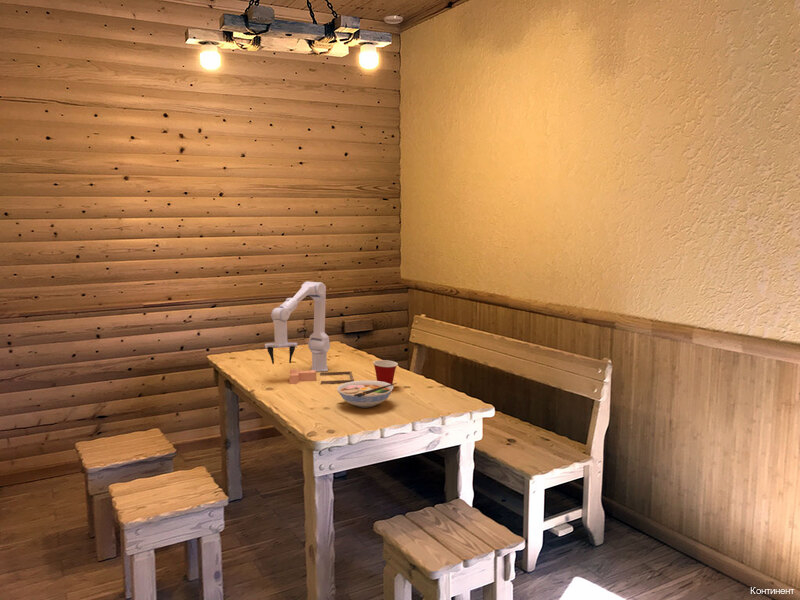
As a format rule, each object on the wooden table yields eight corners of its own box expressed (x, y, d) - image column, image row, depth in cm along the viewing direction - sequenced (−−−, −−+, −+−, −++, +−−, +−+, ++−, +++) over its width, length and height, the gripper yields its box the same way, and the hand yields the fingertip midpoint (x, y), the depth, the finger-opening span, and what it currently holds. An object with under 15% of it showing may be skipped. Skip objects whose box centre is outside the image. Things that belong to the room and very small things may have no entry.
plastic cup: (395, 392, 283) (395, 365, 281) (370, 391, 285) (370, 364, 283) (400, 386, 293) (400, 360, 291) (376, 385, 295) (376, 359, 294)
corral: (320, 374, 314) (320, 372, 314) (351, 373, 316) (351, 371, 316) (320, 384, 297) (320, 381, 297) (354, 382, 299) (354, 380, 299)
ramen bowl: (365, 393, 282) (365, 375, 280) (407, 403, 267) (406, 383, 266) (323, 407, 262) (322, 387, 261) (365, 418, 248) (365, 397, 247)
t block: (290, 377, 309) (290, 369, 309) (315, 376, 311) (315, 368, 311) (289, 384, 298) (289, 375, 297) (316, 383, 299) (316, 374, 299)
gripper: (264, 336, 294) (265, 365, 296) (296, 335, 297) (297, 364, 298) (265, 333, 301) (265, 362, 303) (296, 332, 303) (297, 361, 305)
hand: (281, 363), depth 301 cm, fingers open, 7 cm apart
